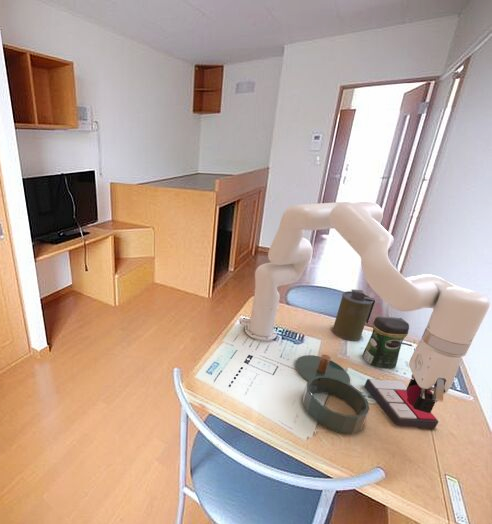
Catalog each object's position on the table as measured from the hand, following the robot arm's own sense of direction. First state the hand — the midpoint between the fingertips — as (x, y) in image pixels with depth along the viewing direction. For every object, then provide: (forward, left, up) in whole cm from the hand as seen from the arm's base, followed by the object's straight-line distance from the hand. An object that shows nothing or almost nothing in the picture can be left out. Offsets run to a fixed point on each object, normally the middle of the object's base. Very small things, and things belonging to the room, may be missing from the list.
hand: (417, 401), depth 75 cm
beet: (0, 0, -1) cm, 1 cm away
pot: (-15, +5, -16) cm, 22 cm away
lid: (-17, +22, -15) cm, 31 cm away
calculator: (+3, +16, -16) cm, 23 cm away
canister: (-6, +54, -16) cm, 56 cm away
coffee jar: (+2, +38, -16) cm, 41 cm away
